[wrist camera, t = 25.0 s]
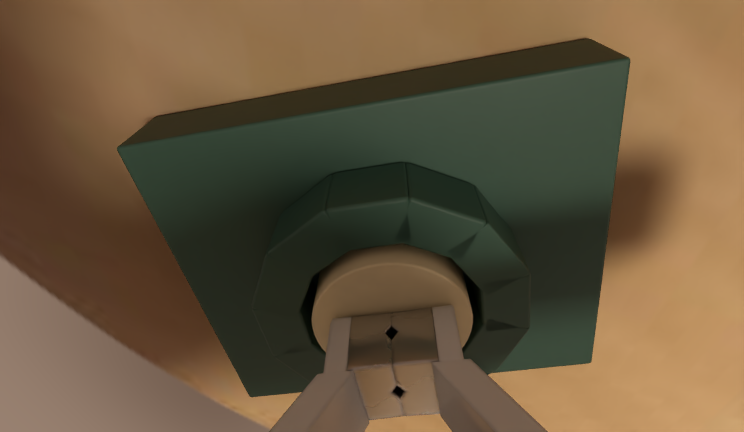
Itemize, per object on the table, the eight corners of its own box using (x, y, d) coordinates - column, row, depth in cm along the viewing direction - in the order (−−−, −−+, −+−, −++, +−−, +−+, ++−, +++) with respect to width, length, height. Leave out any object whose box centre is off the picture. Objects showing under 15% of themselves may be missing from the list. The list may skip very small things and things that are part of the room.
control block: (263, 350, 18) (235, 447, 14) (153, 116, 12) (69, 182, 9) (568, 315, 16) (617, 414, 13) (590, 37, 11) (681, 80, 8)
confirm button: (337, 336, 14) (331, 385, 12) (303, 232, 11) (292, 275, 10) (466, 321, 13) (477, 370, 12) (456, 210, 11) (467, 253, 10)
